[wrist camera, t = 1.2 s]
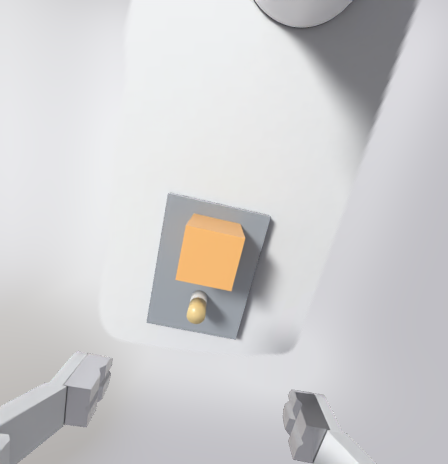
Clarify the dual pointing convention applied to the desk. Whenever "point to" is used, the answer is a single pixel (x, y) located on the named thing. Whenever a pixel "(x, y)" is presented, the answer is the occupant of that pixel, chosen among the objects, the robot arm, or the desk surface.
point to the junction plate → (198, 296)
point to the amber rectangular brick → (210, 252)
